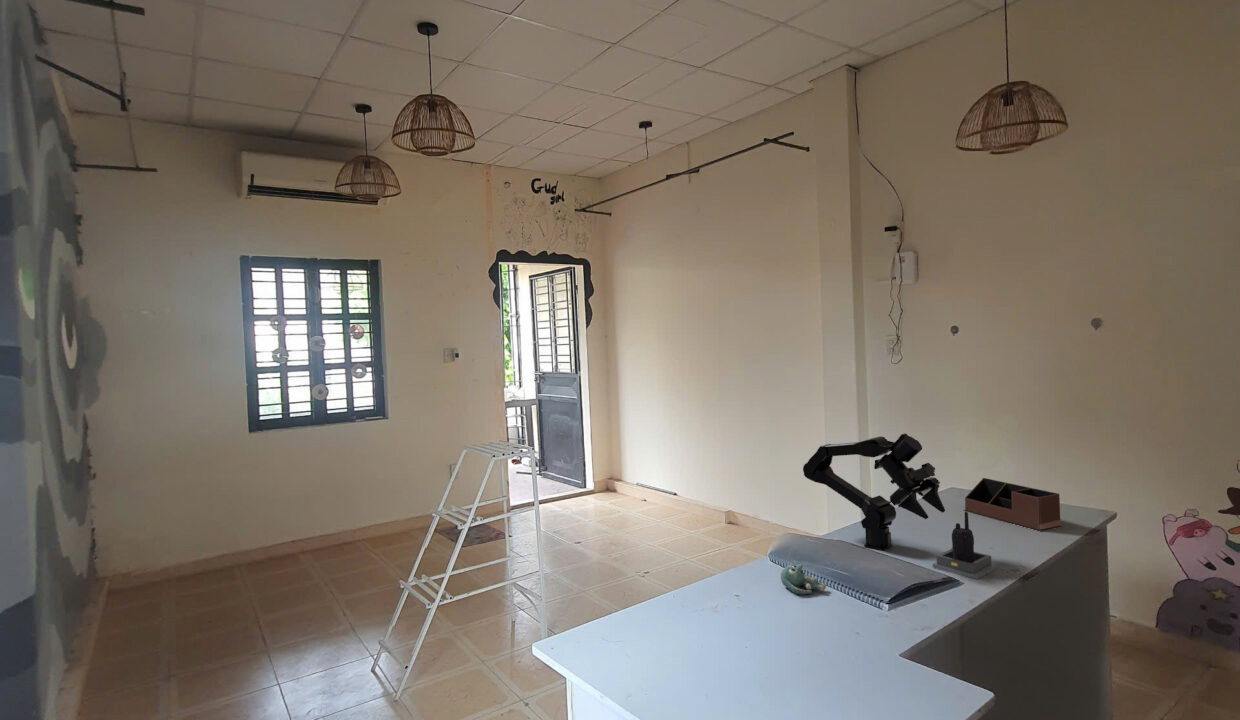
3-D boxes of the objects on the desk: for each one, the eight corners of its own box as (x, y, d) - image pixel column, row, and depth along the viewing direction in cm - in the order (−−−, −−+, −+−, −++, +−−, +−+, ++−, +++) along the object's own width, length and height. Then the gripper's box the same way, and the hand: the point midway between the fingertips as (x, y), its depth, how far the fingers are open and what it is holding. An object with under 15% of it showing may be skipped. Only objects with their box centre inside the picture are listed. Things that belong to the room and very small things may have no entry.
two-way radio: (976, 564, 176) (974, 511, 176) (972, 569, 173) (970, 515, 172) (954, 560, 180) (952, 508, 179) (950, 565, 177) (948, 512, 176)
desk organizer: (1040, 532, 203) (1039, 497, 203) (962, 511, 231) (961, 480, 231) (1063, 527, 207) (1062, 493, 207) (984, 507, 235) (983, 477, 234)
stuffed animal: (822, 580, 160) (776, 564, 167) (817, 606, 161) (773, 590, 168) (832, 566, 169) (789, 552, 176) (828, 591, 170) (785, 576, 177)
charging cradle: (932, 567, 178) (932, 555, 178) (952, 558, 185) (952, 546, 185) (976, 579, 169) (976, 566, 169) (996, 568, 175) (995, 556, 175)
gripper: (898, 459, 181) (937, 505, 172) (932, 450, 192) (971, 492, 183) (874, 483, 188) (911, 527, 179) (908, 472, 198) (945, 514, 190)
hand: (935, 514), depth 183 cm, fingers open, 9 cm apart
